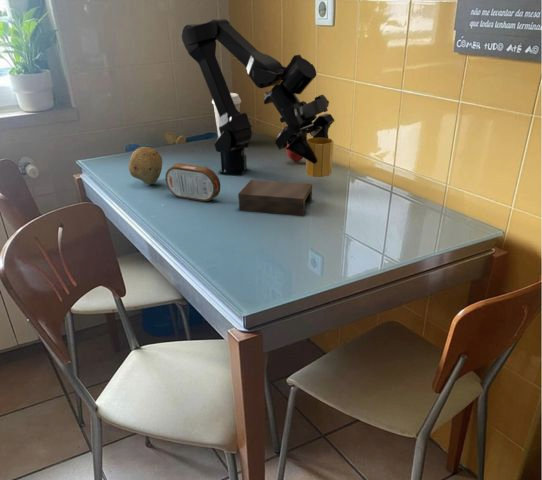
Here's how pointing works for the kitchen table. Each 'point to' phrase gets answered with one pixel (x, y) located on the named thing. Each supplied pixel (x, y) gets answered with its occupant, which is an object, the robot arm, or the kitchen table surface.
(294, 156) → the onion
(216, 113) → the coffee cup
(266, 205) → the brown wooden board
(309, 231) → the kitchen table surface
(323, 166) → the cup
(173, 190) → the tin
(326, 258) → the kitchen table surface
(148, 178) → the potato
